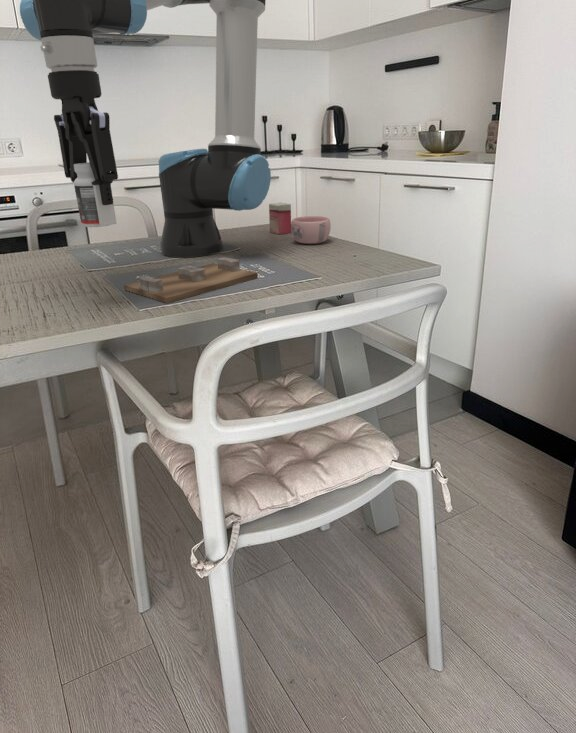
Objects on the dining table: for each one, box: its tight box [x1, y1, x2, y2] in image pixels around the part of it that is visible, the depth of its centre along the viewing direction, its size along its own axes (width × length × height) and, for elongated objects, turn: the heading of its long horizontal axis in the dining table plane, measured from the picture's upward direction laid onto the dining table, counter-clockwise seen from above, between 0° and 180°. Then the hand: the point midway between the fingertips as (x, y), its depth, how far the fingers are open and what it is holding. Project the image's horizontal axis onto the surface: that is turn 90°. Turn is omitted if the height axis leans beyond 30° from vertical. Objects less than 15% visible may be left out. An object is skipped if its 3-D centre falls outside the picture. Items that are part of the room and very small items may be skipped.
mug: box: [291, 215, 332, 245], centre depth 146 cm, size 12×10×6 cm
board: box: [123, 257, 258, 304], centre depth 112 cm, size 14×22×3 cm, turn 136°
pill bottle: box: [73, 162, 110, 228], centre depth 96 cm, size 6×6×10 cm
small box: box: [268, 202, 292, 235], centre depth 159 cm, size 5×4×8 cm
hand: (98, 222), depth 98 cm, fingers closed on pill bottle, 6 cm apart
